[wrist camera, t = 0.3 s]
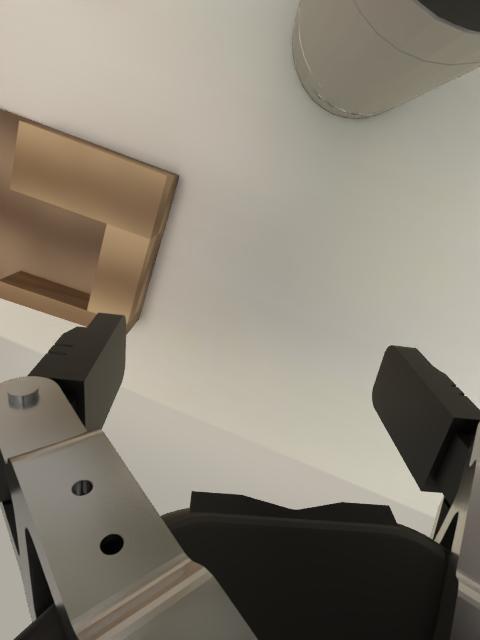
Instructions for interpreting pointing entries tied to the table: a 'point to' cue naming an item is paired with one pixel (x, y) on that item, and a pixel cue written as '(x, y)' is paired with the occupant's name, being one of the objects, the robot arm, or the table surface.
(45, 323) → the table surface
